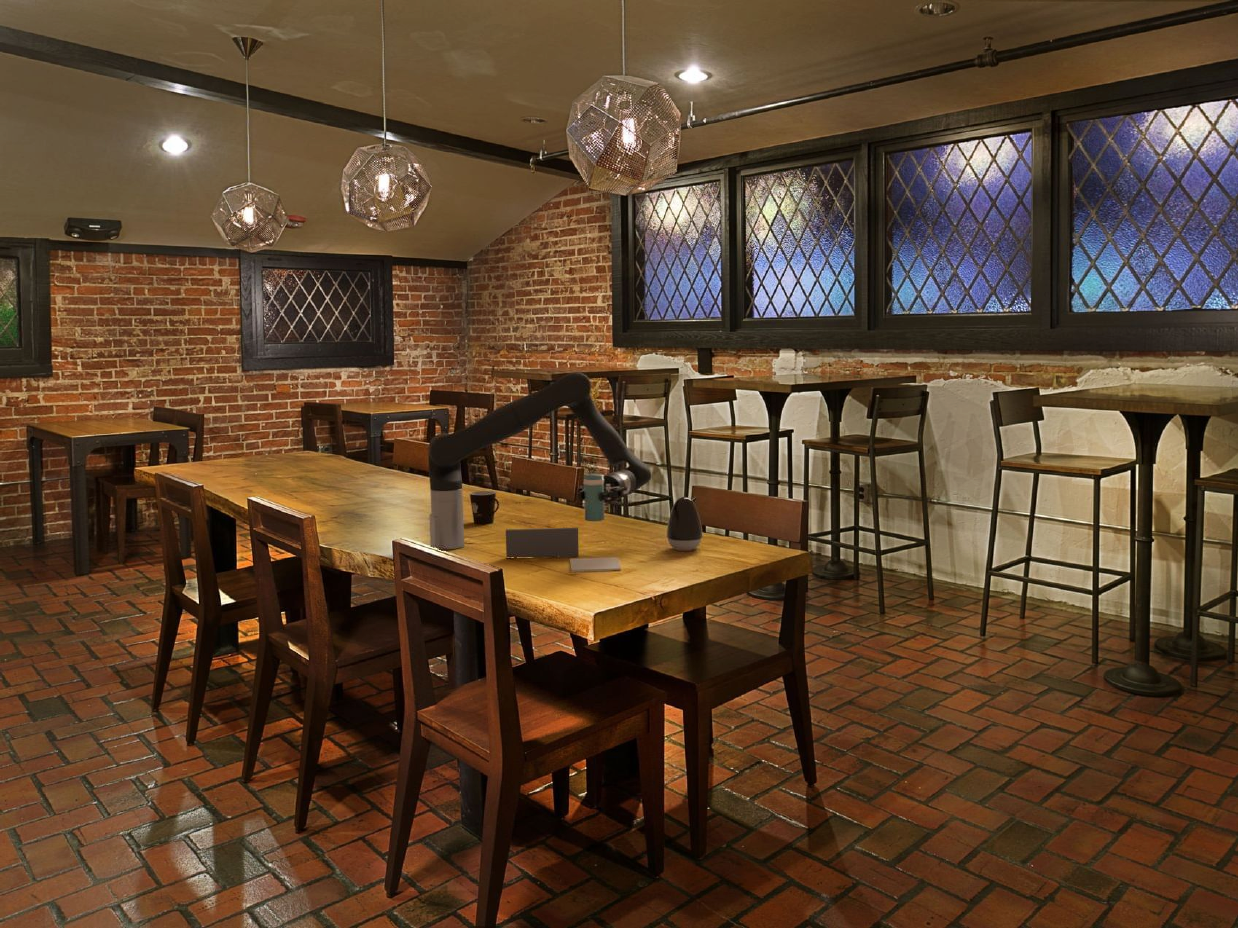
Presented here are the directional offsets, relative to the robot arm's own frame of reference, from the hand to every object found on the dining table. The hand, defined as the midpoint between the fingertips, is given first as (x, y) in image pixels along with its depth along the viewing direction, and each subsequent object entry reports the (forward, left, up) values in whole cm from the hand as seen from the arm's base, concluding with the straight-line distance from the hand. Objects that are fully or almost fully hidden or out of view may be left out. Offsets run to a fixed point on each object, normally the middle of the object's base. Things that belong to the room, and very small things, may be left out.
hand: (590, 496), depth 261 cm
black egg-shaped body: (+33, +9, -19) cm, 39 cm away
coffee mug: (-7, +74, -19) cm, 77 cm away
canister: (+2, +2, -7) cm, 7 cm away
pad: (+2, +2, -19) cm, 19 cm away
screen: (-7, +18, -19) cm, 27 cm away
